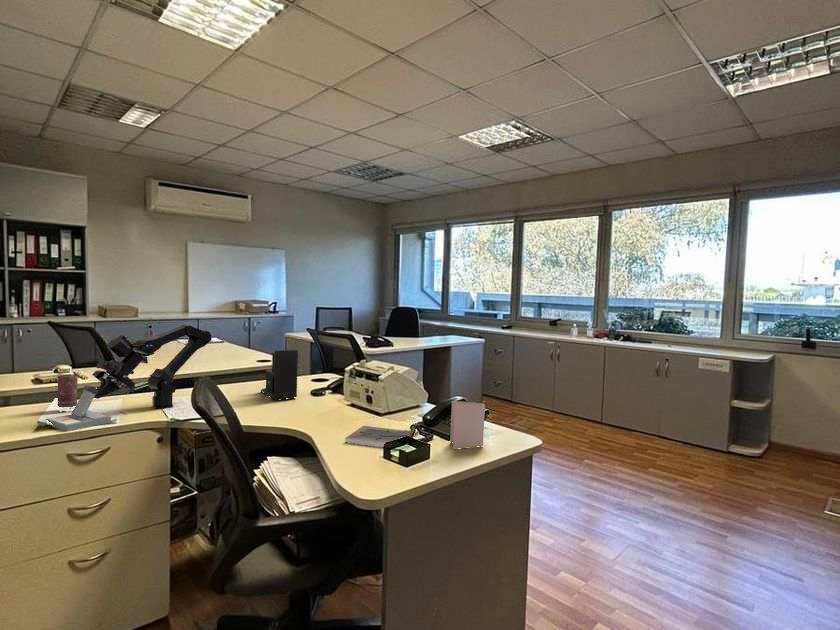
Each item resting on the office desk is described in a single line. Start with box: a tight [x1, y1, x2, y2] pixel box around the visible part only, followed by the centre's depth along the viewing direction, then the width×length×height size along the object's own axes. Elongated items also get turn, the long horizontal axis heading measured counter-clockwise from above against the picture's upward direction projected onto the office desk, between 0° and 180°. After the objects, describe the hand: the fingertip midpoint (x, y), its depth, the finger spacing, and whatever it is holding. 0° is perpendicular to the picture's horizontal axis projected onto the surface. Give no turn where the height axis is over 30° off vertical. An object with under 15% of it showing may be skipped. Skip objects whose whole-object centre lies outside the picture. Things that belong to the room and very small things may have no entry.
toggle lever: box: [71, 385, 99, 418], centre depth 164 cm, size 2×6×11 cm, turn 63°
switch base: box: [45, 410, 112, 432], centre depth 163 cm, size 14×14×2 cm
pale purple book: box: [344, 425, 420, 448], centre depth 159 cm, size 16×2×22 cm
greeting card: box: [449, 400, 486, 450], centre depth 154 cm, size 11×7×15 cm, turn 77°
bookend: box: [260, 349, 299, 401], centre depth 220 cm, size 23×11×24 cm, turn 34°
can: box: [57, 374, 79, 407], centre depth 178 cm, size 6×6×14 cm
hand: (96, 398), depth 167 cm, fingers closed
